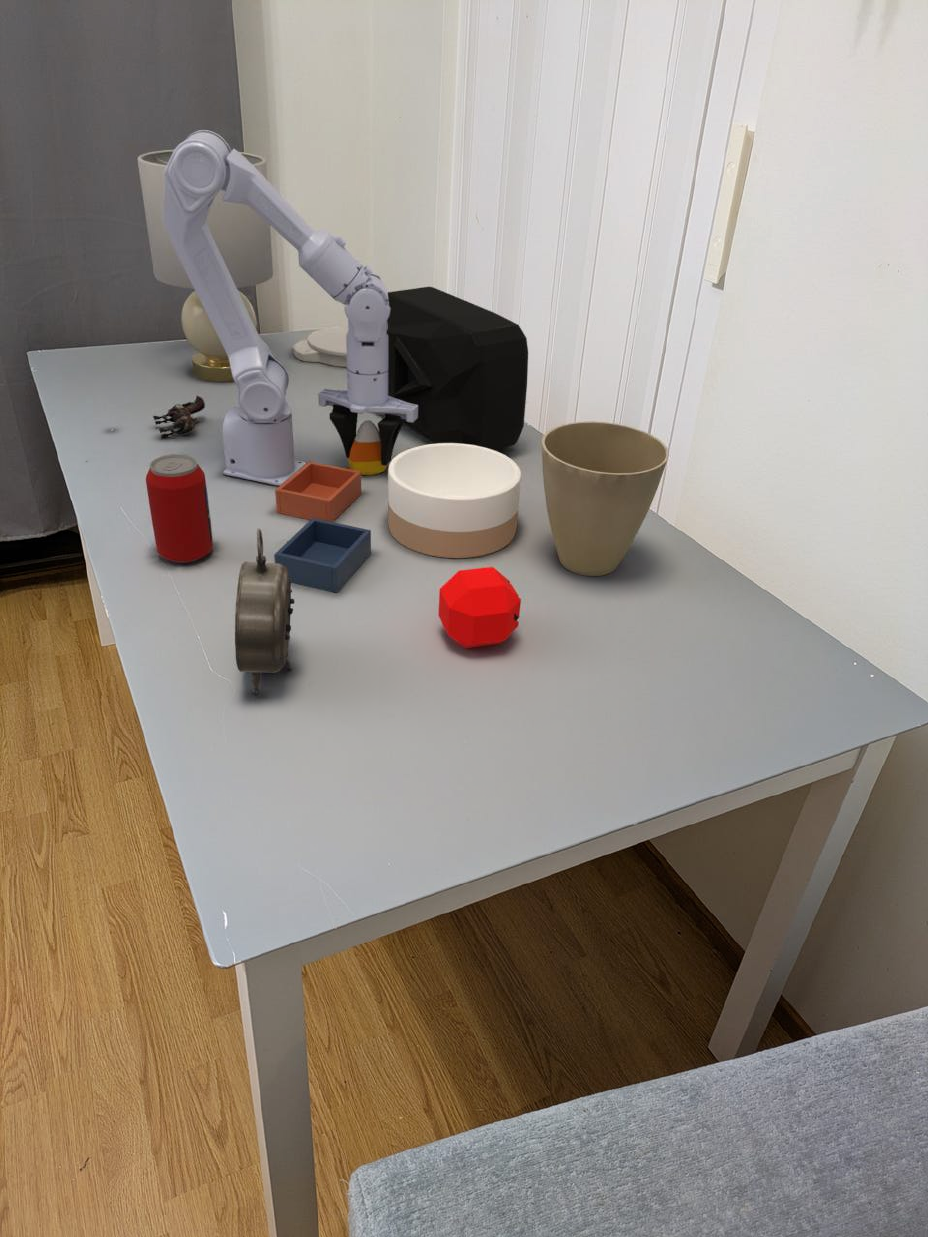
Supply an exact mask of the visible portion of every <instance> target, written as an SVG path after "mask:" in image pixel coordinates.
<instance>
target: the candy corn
mask: <svg viewBox="0 0 928 1237" xmlns="http://www.w3.org/2000/svg"><path fill="white" fill-rule="evenodd" d="M388 466H389V463H388V464H387V465H381V440H380V433H379V429H378V426H376V424H375V423H374V422H373V421H372V420H364V421H363V422H362V423H361V424H360V426H359V428H358V429H357V431H356V437H355V440H354V442H353V445H352V448H351V451H350V456H349V458H348V468H349V469H350V470H355V471H360V472H361V476H372V475H378V474H380V473H382V472H385V471H386V469H387V467H388Z"/></svg>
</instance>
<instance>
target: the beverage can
mask: <svg viewBox="0 0 928 1237" xmlns="http://www.w3.org/2000/svg"><path fill="white" fill-rule="evenodd" d="M145 484H146V493H147V499H148V506H149V511H150V518H151V525H152V530H153V536H154V541H155V548H156V552H157V554H158V556H160V557H161V558H163V559H165V560H168V561H171V562H173V563H178V564H179V563H180V564H185V563H193V562H196V561H199V560H201V559H202V558H203V557H205V556H207V555H208V554H210V552H211V551H212V550H213V548H214V541H213V531H212V521H211V514H210V505H209V497H208V489H207V488H208V487H207V479H206V473H205V472H204V470H203V469H202V467H201V466H200V465H199V464H198V460H197V459H196V458H195V457H193V456H191V455H188V454H181V453H180V454H179V453H177V454H175V453H174V454H173V453H172V454H165V455H161V456H158V457H156V458H154V459H153V460H152V461H151V462H150V463H149V468H148V470H147V473H146V476H145Z"/></svg>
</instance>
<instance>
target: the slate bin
mask: <svg viewBox="0 0 928 1237" xmlns="http://www.w3.org/2000/svg"><path fill="white" fill-rule="evenodd" d="M371 554H372V530H371V529H366V528H362V527H358V526H353V525H348V524H343V523H338V522H335V521H333V522H330V521H325V520H320V519H316V518H312V519H311V520H308V522H306V523H305V525H303V526H302V528H300V529H299V530H298V531H297V532H296V533H294V535H293V536H292V537H291V538H290V539H288V540H287V541H286V542H285V543H284V544H283V545H282V546H281V547H280V548H279V549H278V550H277V551H276V552H275V553H274V563H279V564H282V565H283V566H285V567H286V568H287V570H288V572H289V575H290V582H291V583H294V584H297V585H302V586H306V587H311V588H314V589H319V590H323V591H328V592H330V593H331V592H332V593H338V592H339V591H340V590H341V589H342V588H343V587H344V585H346V583H347V582H348V581H349V580H350V579H351V577H352V576H353V575H354V574H355V573H356V572H357V570H358V569H359V568H360V567H361V566H362V565H363V564H364V563H365V562H366V560H367V559H368V558H369V557H370V556H371Z"/></svg>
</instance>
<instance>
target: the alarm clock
mask: <svg viewBox="0 0 928 1237" xmlns="http://www.w3.org/2000/svg"><path fill="white" fill-rule="evenodd" d="M256 548H257V556H256V557H255V560H256V562H255V561H244V562H243V563H241V566H240V569H239V574H238V581H237V588H236V598H235V614H234V648H235V663H236V667H237V670H238V671H239V672H240V673H243V672H246V673H247V672H248V673H251V674H252V684H253V685H252V686H253V690H252V692H251V694H252V695H253V696H258V695H259V693H260V692H259V684H260V678H261V674H262V673H271V674H272V673H273V674H275V673H277V672H280V671H281V670H282V669H283V668H284V667H285V665H286V666H287V668H288V669H289V670H293V666H292V665H291V663H290V661H289V659H288V658H289V645H290V644H289V643H290V639H291V635H290V633H291V630H292V625H291V615H293V612H294V608H293V607H292V605H294V604H295V603H296V602H295V599H294V598H292V593H293V589H292V585H291V584H292V582H290V575H289V572H288V570H287V568H286V567H285V566H283V565H282V564H279V563H275V562H266V561H267V557H266V556H265V555H264V541H263V533H262V530H261V528H260V527H259V528H257V529H256Z"/></svg>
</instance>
